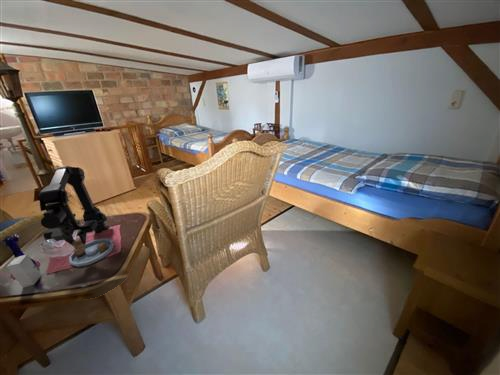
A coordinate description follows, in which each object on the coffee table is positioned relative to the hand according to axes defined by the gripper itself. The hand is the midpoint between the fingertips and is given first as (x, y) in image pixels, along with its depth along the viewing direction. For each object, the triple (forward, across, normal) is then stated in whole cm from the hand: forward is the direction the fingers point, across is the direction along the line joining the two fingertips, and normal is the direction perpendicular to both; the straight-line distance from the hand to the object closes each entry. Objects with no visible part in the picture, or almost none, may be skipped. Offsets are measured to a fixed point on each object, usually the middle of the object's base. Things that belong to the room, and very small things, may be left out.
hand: (79, 244), depth 95 cm
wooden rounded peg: (+9, +5, +5) cm, 12 cm away
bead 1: (+1, 0, 0) cm, 1 cm away
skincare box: (+11, -20, -6) cm, 23 cm away
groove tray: (+10, 0, +5) cm, 12 cm away
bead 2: (+9, -5, +5) cm, 12 cm away
